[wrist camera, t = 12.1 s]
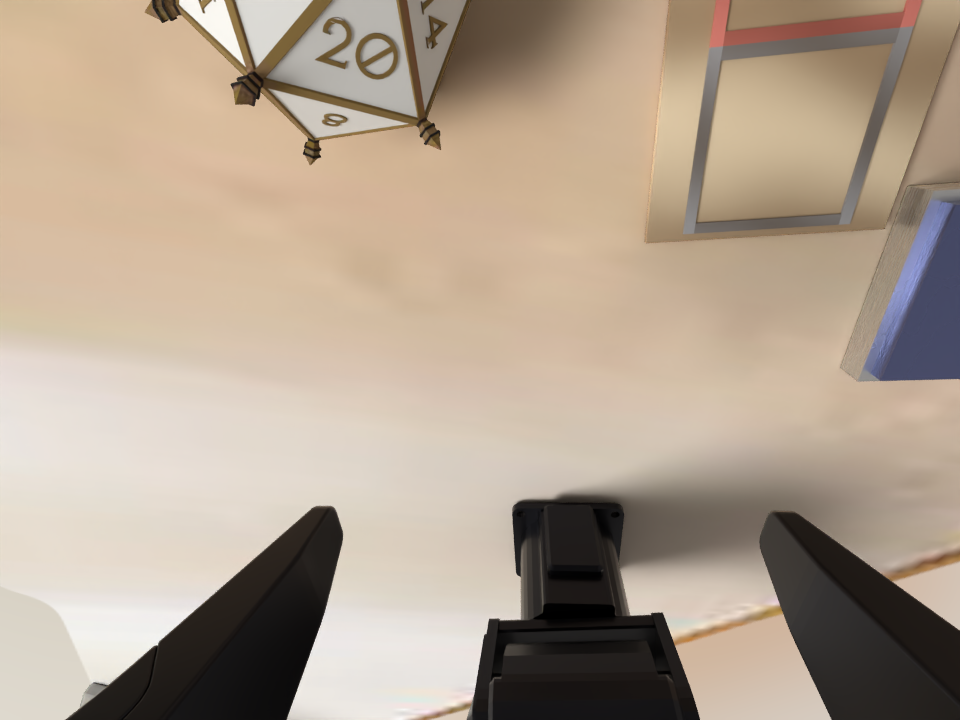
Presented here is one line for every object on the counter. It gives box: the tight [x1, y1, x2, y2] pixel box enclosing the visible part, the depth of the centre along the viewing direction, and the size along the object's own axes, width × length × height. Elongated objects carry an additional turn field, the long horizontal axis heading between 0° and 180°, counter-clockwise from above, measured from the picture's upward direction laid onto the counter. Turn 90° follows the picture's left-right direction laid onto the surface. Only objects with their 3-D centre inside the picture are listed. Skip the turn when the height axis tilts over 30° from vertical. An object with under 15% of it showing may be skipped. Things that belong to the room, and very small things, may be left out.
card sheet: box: [645, 0, 960, 243], centre depth 14 cm, size 13×9×1 cm
